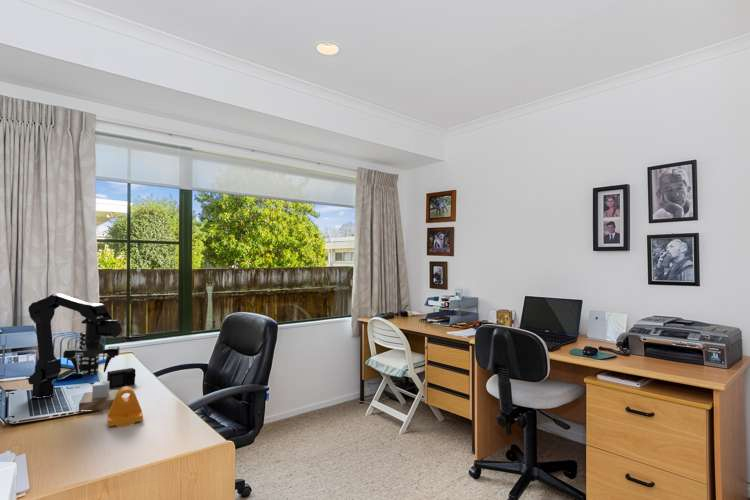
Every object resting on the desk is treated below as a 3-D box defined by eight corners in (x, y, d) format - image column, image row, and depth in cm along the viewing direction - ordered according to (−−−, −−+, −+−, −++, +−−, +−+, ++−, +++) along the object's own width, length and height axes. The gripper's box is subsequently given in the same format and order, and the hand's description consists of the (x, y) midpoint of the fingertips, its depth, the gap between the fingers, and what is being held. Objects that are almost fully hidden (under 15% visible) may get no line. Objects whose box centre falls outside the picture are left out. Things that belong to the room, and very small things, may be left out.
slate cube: (92, 398, 166) (92, 385, 166) (94, 394, 171) (95, 382, 171) (107, 397, 168) (107, 384, 168) (108, 393, 173) (109, 381, 173)
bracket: (107, 428, 147) (109, 394, 148) (107, 421, 153) (108, 388, 154) (142, 422, 153) (144, 389, 154) (140, 416, 159) (142, 384, 160)
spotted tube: (101, 372, 212) (103, 332, 212) (82, 376, 205) (84, 335, 205) (93, 369, 217) (95, 330, 217) (74, 373, 210) (76, 332, 210)
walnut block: (78, 413, 161) (79, 403, 161) (84, 402, 172) (84, 392, 172) (118, 409, 167) (118, 399, 167) (121, 398, 178) (121, 389, 178)
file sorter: (106, 362, 232) (107, 334, 232) (74, 370, 216) (75, 339, 216) (75, 356, 241) (76, 329, 241) (42, 363, 225) (43, 334, 225)
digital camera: (110, 389, 188) (111, 374, 188) (106, 386, 191) (107, 371, 191) (135, 385, 195) (136, 369, 195) (131, 382, 199) (132, 367, 199)
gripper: (61, 339, 162) (58, 380, 161) (118, 338, 170) (115, 377, 170) (67, 334, 172) (64, 372, 171) (120, 332, 180) (118, 369, 180)
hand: (91, 373), depth 173 cm, fingers open, 9 cm apart
